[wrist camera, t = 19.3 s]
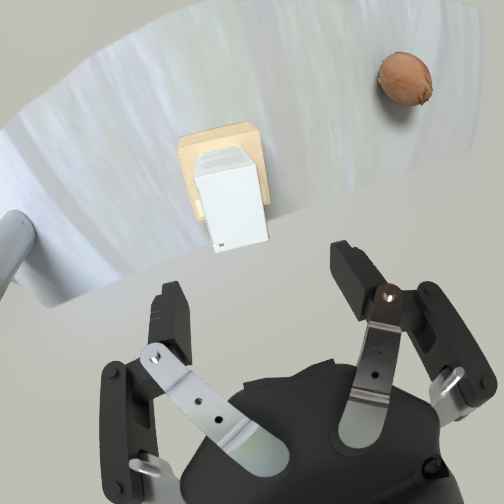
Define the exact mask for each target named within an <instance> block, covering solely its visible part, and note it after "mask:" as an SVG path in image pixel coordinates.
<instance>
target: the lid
mask: <svg viewBox="0 0 504 504" xmlns="http://www.w3.org/2000/svg"><path fill="white" fill-rule="evenodd" d="M236 145H241V146H242V147H243V149H244V150H245V151H246V152H247V154H248V155H249V156H250V157H251V158H252V160H253V161H254V162H255V163H256V165H257V170H258V175H259V181H260V187H261V193H262V198H263V204H264V205H267V204H271V202H270V195H269V189H268V183H267V177H266V170H265V164H264V158H263V152H262V146H261V141H260V135H259V130H254V131H249V132H243V133H239V134H234V135H229V136H225V137H220V138H216V139H212V140H207V141H203V142H199V143H195V144H192V145H188V146H184V147H181V148H177V153H178V156H179V160H180V164H181V167H182V171H183V174H184V178H185V181H186V185H187V188H188V192H189V195H190V199H191V202H192V206H193V209H194V212H195V216H196V219H197V221H200V220H204V219H205V216H204V213H203V209H202V206H201V202H200V199H199V195H198V192H197V189H196V186H195V183H194V179H193V178H194V171H195V163H196V157H197V154H201V153H205V152H209V151H213V150H217V149H222V148H226V147H231V146H236Z"/></svg>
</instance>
